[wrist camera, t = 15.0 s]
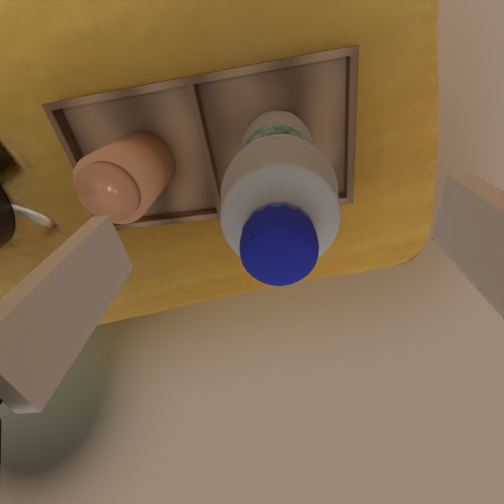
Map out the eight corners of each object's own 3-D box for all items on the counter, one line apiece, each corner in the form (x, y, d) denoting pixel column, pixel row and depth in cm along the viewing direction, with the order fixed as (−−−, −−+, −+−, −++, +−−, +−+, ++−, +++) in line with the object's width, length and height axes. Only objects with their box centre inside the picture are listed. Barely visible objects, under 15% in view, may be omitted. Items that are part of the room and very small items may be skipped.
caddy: (115, 221, 35) (105, 231, 33) (58, 101, 28) (41, 104, 26) (347, 193, 31) (352, 202, 29) (351, 46, 24) (358, 45, 22)
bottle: (256, 185, 30) (237, 336, 14) (230, 121, 27) (163, 219, 10) (319, 163, 29) (383, 303, 12) (299, 91, 25) (350, 150, 9)
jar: (131, 192, 32) (88, 232, 24) (108, 135, 29) (51, 162, 21) (183, 185, 31) (155, 224, 24) (165, 126, 28) (126, 150, 20)
